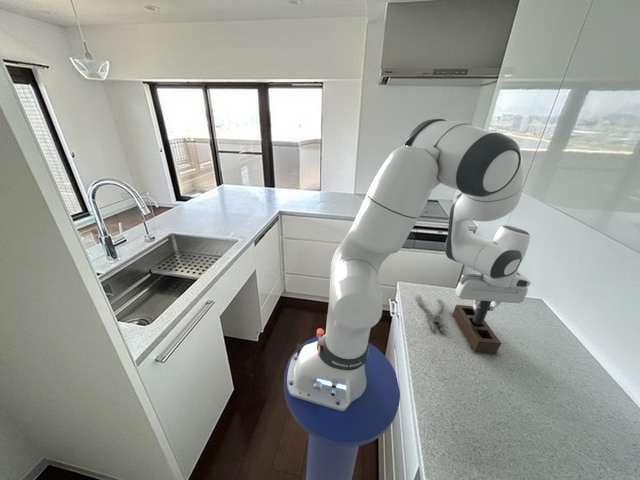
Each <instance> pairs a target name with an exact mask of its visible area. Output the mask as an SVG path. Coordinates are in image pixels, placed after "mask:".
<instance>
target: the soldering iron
mask: <svg viewBox="0 0 640 480" xmlns="http://www.w3.org/2000/svg"><path fill="white" fill-rule="evenodd" d="M491 302H492V301H481V300H480V302H478V303H479V305H480V306H481V308H480V310H476V312H475V315H474V317H473V322H474V323H475V324H477V325H482V323H483V321H484V320H485V319H486V317H487V314H488V312H489V311H488V309H489V307H490V304H491Z"/></svg>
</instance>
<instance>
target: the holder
mask: <svg viewBox="0 0 640 480" xmlns="http://www.w3.org/2000/svg"><path fill="white" fill-rule="evenodd" d="M475 312H476V310H474V308H473V305H463V304H456V305H455V307H454V309H453V312H452V316H453V318H454V320H455V322H456V323H457V326H458V327H459V329H460V331H461V332H462V334H463V335H464V337H465V339H466V341H467V343H468V344H469V345H470V348H471V349H472V351H473V352H474V353H477V354H486V355H487V354H489V355H497V353H498V351H499V349H500V347H501V345H502V342H501V340H500V339H499V338H498V336H497V335H496V334H495V332H494V331H493V330H492V329H491V327H490V326H489V324H488V322H487V321H486V320H485V319H484V321H483V323H482V325H477V324H475V323H474V322H473V317H474V315H475Z"/></svg>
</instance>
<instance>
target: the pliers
mask: <svg viewBox="0 0 640 480" xmlns="http://www.w3.org/2000/svg"><path fill="white" fill-rule="evenodd" d="M417 299H418V304H419V305H420V307H421V308H422V309H423V310H424V311H425V312H426V314H427V315H428V317H429V326H430V327H431V329H432V331H433V332H435V331H436V325H437V327H438V328H439V331H440V333H441V334H443V333H444V325H443V322H442V320H441V318H440V315H441V314H442V312H443V310H444V303H443V301H442V300H441V299H439V300H438V301H439V303H440V309H438V311H437V312H436V314H435V315H434V314H433V313H432V312H431V311H430V310H429V309H428V308H427V307H426V306H424V305H423V302H422V301H421V295H418V298H417Z"/></svg>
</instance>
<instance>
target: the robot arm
mask: <svg viewBox="0 0 640 480" xmlns="http://www.w3.org/2000/svg"><path fill="white" fill-rule="evenodd" d="M520 146H521V145H520V144H519V142H518V140H516V139H515V138H514V137H512V136H510V135H507V134H504V133H501V132H497V131H496V132H493V131H490V130H488V129H485V128H482V127H478V126H475V125H473V124H472V123H468V122H462V121H455V120H446V119H445V118H433V119H427V120H423V121H422V122H421V123H419V124H418V125H416V126H415V128H414V129H413V130H411V132H410V134H409V135H408V137H407V139H406V141H405V142H404V144H403V146H400V147H397V148H396V149H394V150H393V151H392V152H391V153H390V154H389V156H387V158H386V160H385V161H384V163H382V166H381V167H380V169H379V170H378V172H377V174H376V176H375V177H374V179H373V180H372V183H371V184H370V186H369V188H368V190H367V193H366V195H365V197H364V200H363V201H362V204H361V205H360V208H359V210H358V213H357V214H356V217H355V219H354V221H353V223H352V226H351V228H350V229H349V231H348V232H347V234H346V236H345V237H344V238H343V239H342V241H341V243H340V245H339V246H338V247H337V248H336V250H335V251H334V254H333V255H332V259H331V262H330V276H329V277H330V278H329V296H328V308H327V314H326V327H325V330H324V329H323V328H321V327H320V328H317V329H316V336H315V337H318V338H319V339H318V341H316V342H314V343H311V344H304V343H302V344H300V343H297V344H296V350H297V353H296V354H295V355H294V357H293V358H292V360H291V363H290V366H289V370H288V376H287V387H288V391H289V393H290V395H291V396H293V397H296V398H299V399H302V400H306V401H309V402H312V403H316V404H319V405H322V406H326V407H329V408H332V409H336V410H339V411H345V410H346V409H347V408H348V406H349V405H350V403H351V402H353V401H354V400H356V399H357V398H359V397H360V396H361V395H362V394H363V392H364V391H365V388H366V384H367V379H366V374H365V364H366V360H367V357H368V351H369V346H368V343H369V339H370V332H371V328H373V327H374V326H376V325H377V324H378V323H379V321H380V320H381V318H382V316H383V308H384V294H383V293H384V292H383V290H382V289H383V288H382V286H381V281H380V278H379V273H380V268H381V266H382V264H383V263H384V261H385V260H387V258H388V257H389V256H391V255H394V254H396V253H398V252H399V251H400V250H401V249H402V248H403V246H404V244H405V243H406V241H407V239H408V238H409V236H410V234H411V232H412V230H413V228H414V227H415V225H416V223H417V222H418V220H419V218H420V216H421V214H422V213H423V211H424V209H425V207H426V205H427V203H428V201H429V198H430V196H431V194H432V191H433V190H434V189H435V188H436V187H437V186H439V185H440V184H442V185H443V186H447V187H449V188H451V189H454V190H458V191H459V192H460V193H458V194H457V195H456V197H455V198H454V199H453V201H452V203H451V206H450V211H449V218H448V228H447V237H446V240H445V243H444V253H445V256H446V257H447V258H448V259H449V260H452V261H454V262H457V263H459V264H461V265H464V266H465V267H467V268H469V269H471V270H473V271H475V272H467V273H465V274H462V275H461V277H460V280H459V282H458V283H457V285H456V288H455V293H456V295H457V297H458V298H459V299H461V300H470V301H472V302H473V305H472V306H473V308H474V310H480V308H481V306H480V305H479V302H480V300H481V301H492V302H491V304H490V307H489V309H488V311H487V312H493V311H494V310H495V308H497V307H498V306H499V305H501V304H502V303H507V304H509V303H510V304H521V303H523V302H524V301H525V298H526V296H527V294H528V290H529V289H528V288H529V287H530V286H531V282H532V281H530V279H528V278H527V277H526V276H525V275H524V274H522V273H521V272H520V271H519V267H520V265H521V263H522V262H523V261H524V258H525V256H526V254H527V251H528V248H529V245H530V240H531V234H530V233H529V232H528V231H526V230H524V229H522V228H518V227H516V226H511V225H500V227H498V229H497V232H496V233H495V235H494V236H493V239H492V240H490V239H488V238H485V237H483V236H480V235H477V234H475V233H473V232H472V231H471V230H469V228H470V227H469V226H470V223H471V221H474V222H492V221H496V220H500V219H501V218H504V217H506V216H508V215H509V214H511V213H512V212H513V211H514V210H515V209H516V208H517V207H518V204H519V203H520V200H521V196H522V192H523V191H522V190H523V182H524V181H523V180H524V165H523V157H522V151H521V147H520ZM477 272H478V273H477ZM295 359H296V360H295ZM290 384H292V385H290ZM337 403H338V404H339V405H337Z"/></svg>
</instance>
